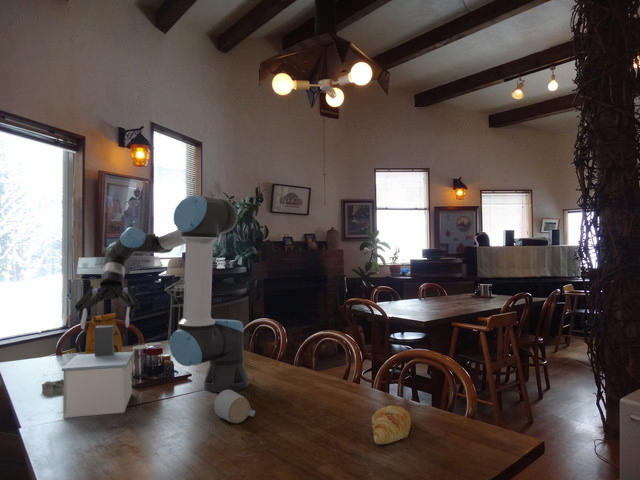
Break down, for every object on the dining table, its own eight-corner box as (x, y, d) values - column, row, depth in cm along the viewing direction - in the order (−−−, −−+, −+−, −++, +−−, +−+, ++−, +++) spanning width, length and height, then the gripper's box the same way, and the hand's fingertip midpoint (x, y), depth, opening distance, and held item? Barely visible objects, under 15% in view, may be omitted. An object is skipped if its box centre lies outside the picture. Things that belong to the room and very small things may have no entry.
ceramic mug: (229, 427, 123) (229, 398, 123) (213, 419, 129) (213, 391, 129) (261, 418, 130) (262, 390, 130) (244, 411, 136) (245, 385, 136)
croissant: (389, 465, 108) (404, 438, 107) (353, 438, 112) (367, 411, 111) (412, 431, 127) (426, 408, 126) (381, 409, 131) (394, 386, 130)
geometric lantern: (162, 354, 211) (162, 277, 213) (178, 348, 226) (178, 277, 228) (194, 355, 208) (194, 277, 210) (208, 349, 224) (208, 276, 226)
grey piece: (43, 397, 150) (43, 385, 150) (40, 392, 156) (40, 380, 156) (80, 391, 156) (80, 379, 156) (76, 386, 162) (76, 374, 162)
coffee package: (125, 367, 187) (126, 313, 188) (99, 375, 176) (100, 317, 177) (108, 365, 192) (108, 311, 192) (81, 372, 180) (82, 315, 181)
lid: (76, 357, 148) (76, 326, 148) (133, 354, 153) (133, 324, 153) (61, 371, 131) (62, 336, 131) (126, 366, 135) (126, 333, 135)
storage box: (77, 398, 148) (78, 357, 148) (131, 394, 152) (131, 354, 152) (63, 417, 130) (63, 371, 131) (124, 412, 135) (124, 367, 135)
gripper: (149, 284, 174) (145, 330, 159) (76, 285, 167) (65, 334, 153) (148, 270, 169) (144, 317, 154) (73, 271, 162) (60, 320, 148)
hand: (104, 325), depth 153 cm, fingers open, 13 cm apart
